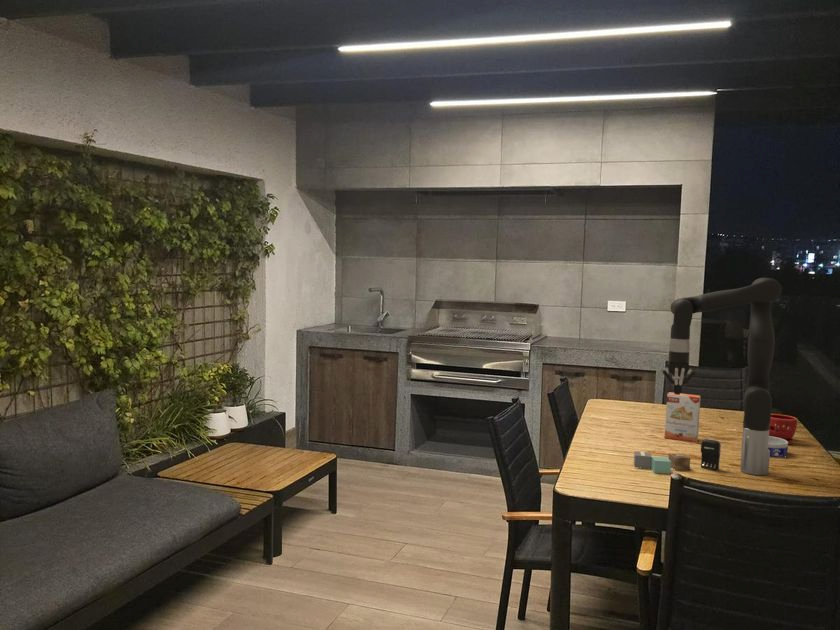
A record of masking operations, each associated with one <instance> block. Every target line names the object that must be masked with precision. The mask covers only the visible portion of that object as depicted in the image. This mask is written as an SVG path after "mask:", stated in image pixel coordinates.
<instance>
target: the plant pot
mask: <svg viewBox="0 0 840 630" xmlns="http://www.w3.org/2000/svg"><path fill="white" fill-rule="evenodd" d="M797 426H798V418H797V417H794V416H790V415H785V414H775V413H773V414H772V413H771V420H770V426H769V436H772V437H777V438H781V439H784V440H786V441H788V445H790V444H792V443H794V441H795V439H794V438H793V437H794V436H795V434H796V431H797Z"/></svg>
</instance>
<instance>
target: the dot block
mask: <svg viewBox="0 0 840 630" xmlns="http://www.w3.org/2000/svg"><path fill="white" fill-rule="evenodd" d="M668 459H669V460H670V461H671V469H672V468H673V470H674V469H675V470H674V471H690V470H691V457H690V456H688V455H686V454H684V453H668Z"/></svg>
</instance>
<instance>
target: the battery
mask: <svg viewBox="0 0 840 630" xmlns="http://www.w3.org/2000/svg"><path fill="white" fill-rule="evenodd" d="M721 449H722V443H721V442H720V441H719V440H717V439H712V438H711V439H710V438H705V439H703V440H702V441H701V443H700V453H701V460H700V467H701V468H703V469H708V470H713V471H717V470H720V461H721V452H722V450H721Z"/></svg>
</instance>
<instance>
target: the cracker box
mask: <svg viewBox="0 0 840 630" xmlns="http://www.w3.org/2000/svg"><path fill="white" fill-rule="evenodd" d="M701 397H702V396H701V395H698V394H689V393H688V394H687V393H682V392H681V393H680V395H676V394H674V392H673V391H672V392H670V391H669V392H667V395H666V408H665V409H666V410H665V422H664V423H665V424H664V426H665V427H664V438H665V439H669V440H677V441H683V442H690V443H697V442H698V440H699V428H700V427H699V426H700V414H701V413H700V412H701Z"/></svg>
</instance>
